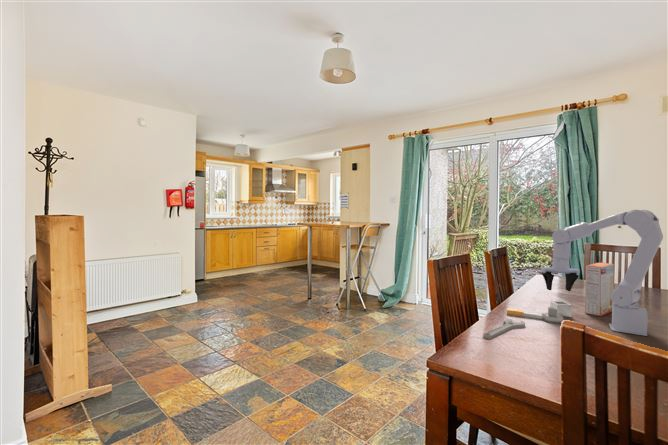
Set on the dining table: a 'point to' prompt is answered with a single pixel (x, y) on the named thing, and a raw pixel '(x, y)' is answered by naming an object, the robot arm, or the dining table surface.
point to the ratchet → (538, 315)
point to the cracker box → (599, 288)
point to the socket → (562, 308)
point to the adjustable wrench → (503, 328)
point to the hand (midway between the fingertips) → (558, 290)
